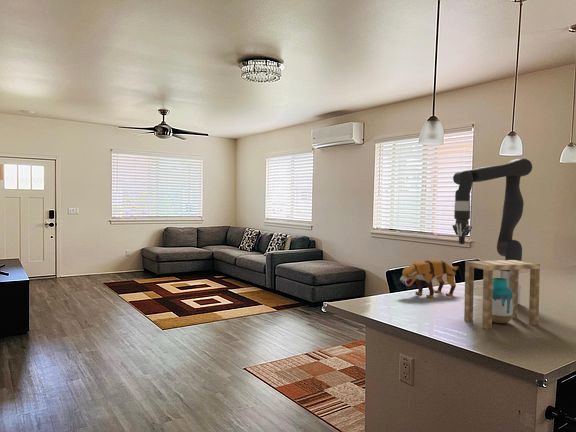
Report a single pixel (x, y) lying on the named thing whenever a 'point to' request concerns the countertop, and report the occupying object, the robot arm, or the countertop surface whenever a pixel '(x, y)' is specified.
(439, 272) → the toy
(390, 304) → the countertop surface
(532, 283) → the riser shelf
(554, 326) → the countertop surface
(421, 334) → the countertop surface
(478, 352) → the countertop surface
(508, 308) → the vase
